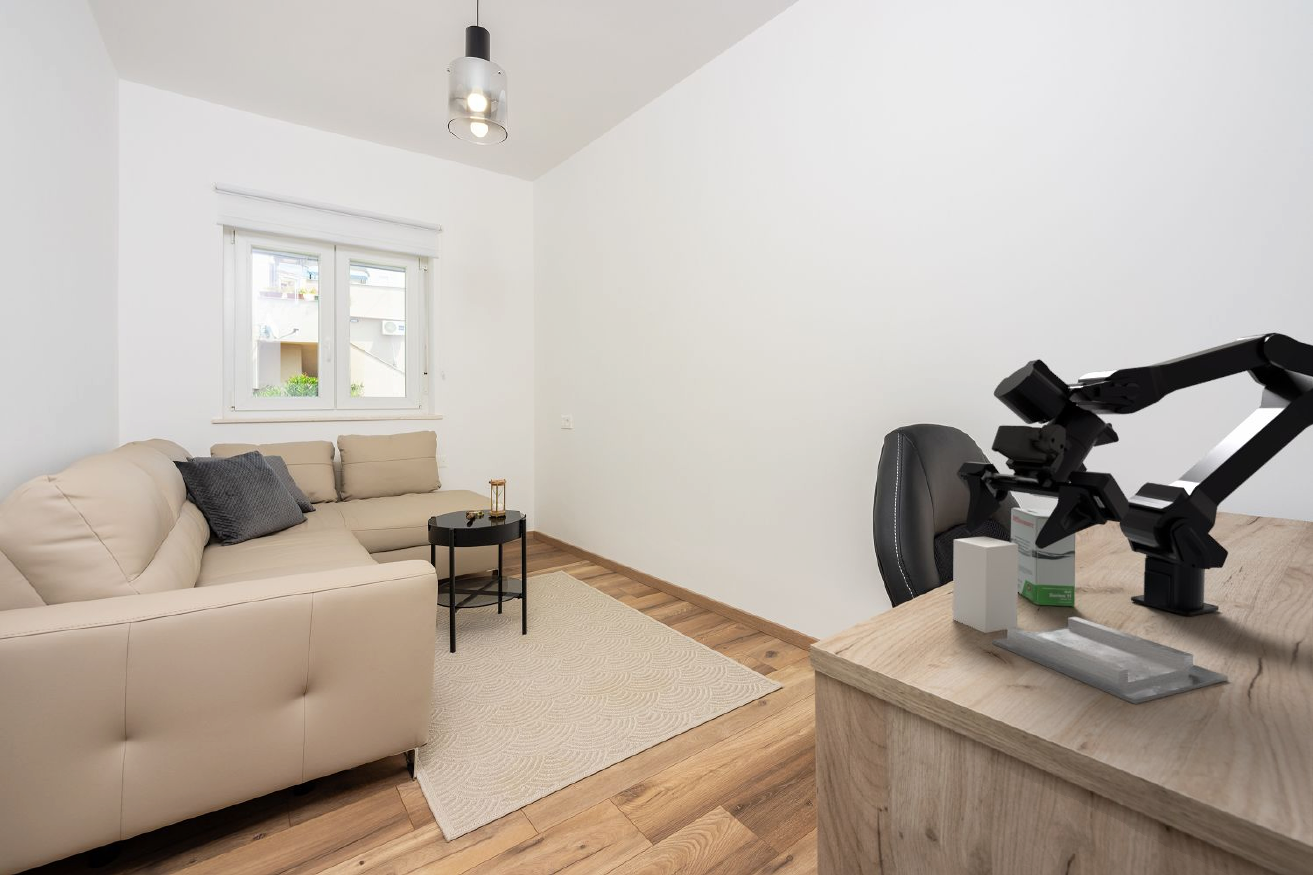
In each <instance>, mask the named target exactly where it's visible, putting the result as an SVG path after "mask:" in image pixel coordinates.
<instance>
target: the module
mask: <svg viewBox="0 0 1313 875" xmlns="http://www.w3.org/2000/svg"><path fill="white" fill-rule="evenodd" d="M952 563H953V564H952V565H953V567H952V568H953V571H952V574H953V576H952V577H953V581H952V582H953V584H952V587H953V588H952V597H953V598H952V620H953V619H954V620H953V621H955V620H956V621H955V622H957V621H958V622H957V623H960V624H962V623H963V625H965V626H967V625H969V626H968V627H970V626H971V627H970V628H972V627H973V628H972V629H975V630H978V631H980V632H982V633H983V634H984V633H985V634H986V633H991V632H998V631H1004V630H1005V631H1006V630H1008V628H1013V627H1017V628H1018V596H1019V595H1018V594H1019V593H1018V544H1016V543H1011V541H1007V540H1003V539H997V538H992V537H988V536H973V537H966V538H957V539H956V538H955V539H953V562H952Z"/></svg>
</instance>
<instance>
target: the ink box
mask: <svg viewBox="0 0 1313 875" xmlns="http://www.w3.org/2000/svg"><path fill="white" fill-rule="evenodd" d="M1052 512H1053V510H1050V509H1046V508H1044V509H1043V508H1042V509H1041V508H1031V507H1030V508H1028V507H1012V508H1011V510H1010V514H1011V515H1010V516H1011V517H1010V542H1011V543H1016V544H1018V592H1019V593H1018V594H1020V595H1021V594H1022V596H1023V597H1024V598H1026V599H1027V598H1028V599H1027V600H1029V601H1030V602H1032V603H1034V604H1035V605H1038V606H1059V607H1075V603H1076V602H1075V600H1076V597H1075V593H1076V589H1075V588H1076V587H1075V586H1076V585H1075V584H1076V533H1074V534H1072V535H1070V536H1068V537H1066V538H1064V539H1062V540H1059V541H1057V542H1055V543H1053V544H1051V545H1049V546H1047V547H1045V548H1043V549H1039V548H1038V547H1037V546H1036V545H1035V541H1036V539H1037V537H1038V534H1039V532H1040V531H1041V529H1042V528H1043V526H1044V524H1045V523H1046V521H1047V520H1048V518H1049V517H1050V515H1051V513H1052Z"/></svg>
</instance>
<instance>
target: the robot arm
mask: <svg viewBox="0 0 1313 875" xmlns="http://www.w3.org/2000/svg"><path fill="white" fill-rule="evenodd" d="M1244 372H1247V373H1248V375H1249V376H1250V377H1251V378H1252V380H1253V381H1254V382H1255V383H1256V384H1258V385H1261V386H1262V387H1264V388H1262V389H1263V390H1262V394H1261V401H1260V406H1259V407H1258V408H1257V409H1256V410H1255V411H1254V412H1253V413H1251V414H1250V415H1249V416H1248V417H1247V418H1246V419H1245V420H1244V421H1243V422H1241V423H1240V424H1239V425H1238V426H1237V427H1236V428H1235V429H1234V430H1232V431H1231V432H1230V433H1229V434H1228V435H1227V436H1225V437H1224V438H1223V439H1222V440H1221V441H1220V442H1219V443H1218V444H1216V446H1214V447H1213V448H1212V449H1211V450H1209V452H1207V454H1205V455H1204V456H1203V457H1202V458H1201V459H1200V460H1199V461H1197V462H1196V463H1195V464H1194V465H1192V466H1191V467H1190V468H1189V469H1188V470H1187V471H1186V472H1185V473H1184V474H1183V475H1181V476H1180V477H1179V478H1178V479H1176V480H1175V481H1174V482H1172V483H1169V484H1163V483H1157V482H1150V481H1148V482H1146V483H1144V484H1143V485H1141V487H1140V488H1139V490H1137V492H1136V493H1135V494H1134V495H1132V496H1131V497H1130V498H1127V497H1126V495H1125V493H1124V492H1123V490H1122V488H1121V486H1120V485H1119V483H1118V482H1117V481H1116V479H1115V478H1114V476H1113V475H1112V473H1111V472H1110V473H1109V472H1099V471H1098V472H1097V471H1088V468H1087V467H1086V465H1085V463H1084V462H1085V460H1086V458H1087V457H1088V455H1089V453H1090V452H1091V451H1092V450H1093V448H1095V447H1099V446H1104V445H1110V444H1113V443H1118V442H1119V441H1120V437H1119V436H1118V433H1117V432H1116V431H1115V429H1114V428H1113V424H1112V422H1105V421H1104V419H1103V418H1101V417H1100V416H1101V415H1131V414H1135V413H1137V412H1140V411H1141V410H1145V409H1146V408H1148V407H1150V406H1152V405H1154V404H1157V403H1159V402H1160V401H1161V400H1163V398H1165V397H1166V396H1168V395H1170V394H1171V393H1174V392H1176V391H1179V390H1183V389H1186V388H1190V387H1194V386H1197V385H1201V384H1204V383H1207V382H1212V381H1216V380H1218V379H1222V378H1226V377H1229V376H1233V375H1238V374H1241V373H1244ZM993 396H994V397H995V398H996V399H997V400H999V401H1000V402H1001V403H1002V404H1003V405H1005V407H1007V409H1009V410H1010V411H1011V412H1012V413H1013V414H1015V415H1016V416H1017V417H1018V418H1019V419H1021V420H1022V421H1023V423H1025V424H1027V425H1005V424H1003V425H999V426H998V429H997V431H996V434H995V437H994V440H993V443H992V445H991V450H992V451H993V452H995V453H999V454H1001V455H1002V456H1004V457H1005V458H1006V459H1007V460H1006V462H1005V465H1006V467H1007V469H1009V470H1013V474H1007V473H1000V471H999V470H998V469H997V467H996V466H995V464H994V463H989V462H978V461H965V462H963V463H962V465H961V466H960V468H959V469H958V470H957V472H956V476H957V477H958V478H959V479H960V482H961V483H962V485H964V486H965V488H966V489H967V491H968V492H969V501H968V502H969V503H968V508H967V513H966V520H965V524H964V530H965V531H966V533H967V534H969V535H971V534H973V533H974V532H976V531H977V530H978V529H979V528H981V527H982V526H983V525H984V524H985V523H986V522H987V521H988V520H989V519H990V518H991V517H992V516H993V515H994V514H995V513H996V512H998V510H999V509H1000V508H1001V507H1002V505H1001V504H1000V502H1003V501H1004V500H1005V499H1006V498H1007V496H1008V495H1009V492H1014V493H1022V494H1029V495H1032V496H1034V497H1039V498H1040V497H1041V498H1047V499H1056V500H1057V504H1056V506H1055V507H1054V509H1053V510H1052V511H1053V512H1052V513H1051V515H1050V517H1049V518H1048V520H1047V521H1046V523H1045V524H1044V526H1043V528H1042V529H1041V531H1040V532H1039V534H1038V537H1037V539H1036V541H1035V545H1036V546H1037V547H1038V548H1039V549H1043V548H1045V547H1047V546H1049V545H1051V544H1053V543H1055V542H1057V541H1059V540H1062V539H1064V538H1066V537H1068V536H1070V535H1072V534H1074V533H1075V534H1076V533H1079V532H1081V531H1083V530H1087V529H1089V528H1092V527H1094V526H1096V525H1099V526H1104V525H1106V524H1107V523H1108V521H1110V522H1116V523H1119V528H1120V531H1121V532H1122V534H1123V535H1124V537H1125V538H1126V539H1127V540H1128V543H1129V546H1130V549H1131V551H1132V552H1134V553H1139V554H1142V555H1144V556H1145V558H1144V571H1143V594H1141V595H1140V594H1139V595H1135V596H1131V597H1130V600H1131V602H1134V603H1138V604H1142V605H1145V606H1149V607H1153V608H1156V609H1160V610H1163V611H1168V612H1170V613H1171V612H1172V613H1175V614H1179V615H1182V616H1188V617H1189V616H1195V615H1196V616H1197V615H1200V614H1206V613H1211V612H1216V611H1219V606H1218V605H1216V604H1211V603H1207V602H1205V579H1206V578H1205V576H1206V571H1205V570H1211V569H1212V568H1213V569H1215V568H1216V569H1222V568H1224V565H1225V563H1226V559H1227V557H1228V556H1229V551H1228V550H1227V549H1226V548H1225V547H1223V545H1221V544H1220V543H1219V541H1217V540H1216V539H1215V538H1214V537H1213V536H1212V535H1211V534H1210V532H1211V531H1212V530H1213V528H1214V527H1215V524H1216V518H1217V512H1218V507H1219V506H1220V505H1221V503H1222V502H1223V501H1225V500H1226V499H1227V498H1228V497H1229V496H1231V495H1232V494H1233V493H1234V492H1235V491H1236V490H1237V489H1238V488H1240V486H1243V484H1244V483H1245V482H1247V481H1248V480H1249V479H1250V478H1251V477H1252V476H1253V475H1255V474H1256V473H1257V472H1258V471H1259V470H1261V468H1262V467H1264V466H1265V465H1266V464H1267V463H1268V462H1269V461H1271V460H1272V459H1273V458H1274V457H1276V455H1277V454H1278V453H1280V452H1281V451H1282V450H1283V449H1284V448H1285V447H1287V446H1288V445H1289V444H1290V443H1291V442H1292V441H1293V440H1294V439H1296V438H1297V437H1298V436H1299V435H1300V434H1301V433H1303V432H1304V431H1305V430H1306V429H1308V428H1309V427H1310V426H1313V344H1310V343H1309V344H1308V343H1306V342H1301V341H1299V340H1297V339H1294V338H1293V337H1291V336H1289V335H1287V334H1283V333H1279V332H1278V333H1277V332H1269V333H1263V334H1255V335H1249V336H1241V337H1239V338H1238V339H1236V340H1234V341H1232V342H1227V343H1225V344H1222V345H1218V346H1214V347H1211V348H1210V347H1209V348H1207V349H1204V350H1200V351H1197V352H1192V353H1189V354H1186V355H1183V356H1178V357H1176V358H1171V359H1168V360H1165V361H1161V362H1157V363H1154V364H1151V365H1148V366H1147V365H1146V366H1138V367H1128V368H1120V369H1119V368H1118V369H1110V370H1103V371H1095V372H1093V371H1092V372H1089V373H1086V374H1084V375H1082V376H1081V377H1080V378H1078V380H1077V382H1075V383H1066V382H1065V381H1064V380H1063V379H1061V378H1060V377H1059V376H1058V375H1056V374H1055V373H1054V372H1053V371H1052V370H1051V369H1050V368H1049V366H1048V365H1047V364H1046V363H1045V361H1043V360H1041V359H1040V358H1039V359H1033V360H1029V361H1028V362H1027V363H1026V364H1025V365H1024V366H1023V367H1021V368H1019V369H1017V370H1016V371H1014V372H1013V373H1011V374H1010V375H1009V376H1008V377H1005V378H1003V379H1002V380H1001V382H999V383H998V385H997V386H996V388H995V389H994V391H993ZM1099 415H1100V416H1099ZM1036 423H1038V424H1040V425H1042V424H1043V425H1042V426H1041V427H1036V426H1031V425H1033V424H1036ZM1028 425H1029V426H1028Z"/></svg>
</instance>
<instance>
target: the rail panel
mask: <svg viewBox="0 0 1313 875" xmlns="http://www.w3.org/2000/svg"><path fill="white" fill-rule="evenodd" d="M1006 631H1007V637H1003V638H997V639H993V640H992V644H993V645H995V646H997V647H1000V648H1002V649H1004V650H1006V651H1010V652H1012V653H1013V654H1016V655H1018V656H1021V657H1023V658H1025V659H1028V660H1030V661H1033V662H1035V663H1038V664H1040V665H1042V666H1044V667H1047V668H1049V669H1051V670H1053V671H1056V672H1059V673H1061V674H1064V675H1065V676H1068V677H1070V678H1073V679H1075V680H1077V681H1079V682H1082V683H1085V684H1087V685H1090V686H1091V687H1093V688H1096V689H1098V690H1101V691H1103V692H1105V693H1108V694H1111V695H1113V696H1114V697H1117V698H1119V699H1122V700H1124V701H1127V702H1130V703H1132V704H1134V705H1137V704H1140V703H1145V702H1149V701H1153V700H1156V699H1160V698H1164V697H1168V696H1173V695H1176V694H1181V693H1183V692H1188V691H1192V690H1195V689H1199V688H1203V687H1207V686H1211V685H1215V684H1218V683H1223V682H1227V681H1228V680H1229V679H1228V675H1225V674H1223V673H1222V674H1221V673H1219V672H1217V671H1213V670H1211V669H1208V668H1204V667H1202V666H1199V665H1195V664H1194V654H1193V653H1189V652H1186V651H1182V650H1179V649H1177V648H1173V647H1170V646H1168V645H1164V644H1161V643H1159V642H1155V641H1152V640H1150V639H1145V638H1143V637H1139V636H1137V635H1133V634H1130V633H1128V632H1125V631H1124V632H1123V631H1122V630H1118V629H1115V628H1111V627H1109V626H1105V625H1102V624H1099V623H1096V622H1093V621H1090V620H1088V619H1083V618H1081V617H1078V616H1072V617H1067V626H1064V627H1058V628H1052V629H1046V630H1042V631H1036V632H1030V631H1027V630H1024V629H1022V628H1019V627H1018V626H1017V627H1013V628H1008V629H1007V630H1006Z"/></svg>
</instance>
